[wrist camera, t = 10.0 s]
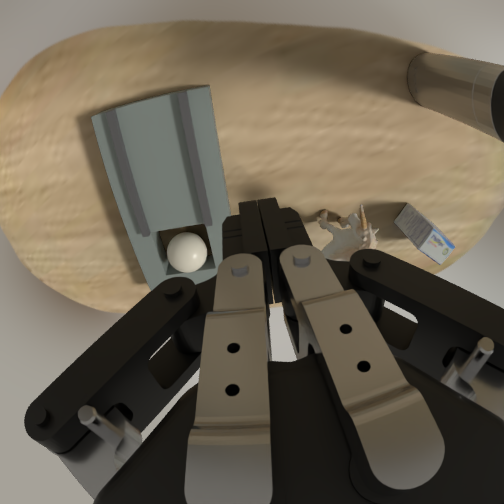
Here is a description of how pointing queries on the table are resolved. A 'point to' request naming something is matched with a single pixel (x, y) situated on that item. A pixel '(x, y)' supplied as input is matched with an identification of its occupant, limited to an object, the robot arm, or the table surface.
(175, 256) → the plastic ball
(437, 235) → the medicine box
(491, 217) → the table surface
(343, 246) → the unicorn figurine
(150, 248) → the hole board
